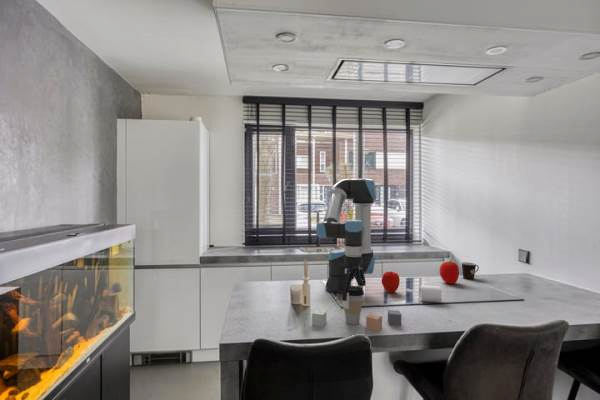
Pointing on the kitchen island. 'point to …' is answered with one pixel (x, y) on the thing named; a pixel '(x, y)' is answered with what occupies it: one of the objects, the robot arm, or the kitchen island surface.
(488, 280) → the kitchen island surface
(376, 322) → the terracotta cube
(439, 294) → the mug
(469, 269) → the coffee mug
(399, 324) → the charcoal cube
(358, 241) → the robot arm
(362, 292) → the coffee cup
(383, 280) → the red rounded piece
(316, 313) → the sage cube
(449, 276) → the red strawberry
